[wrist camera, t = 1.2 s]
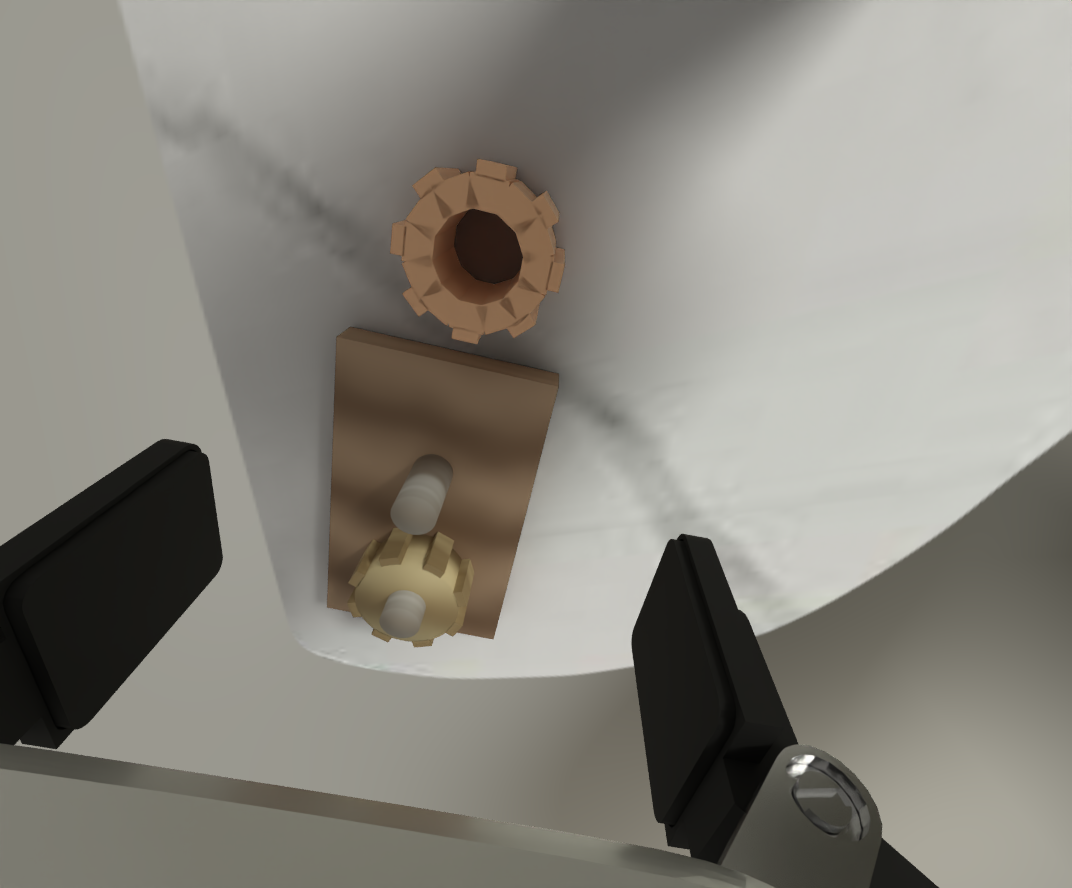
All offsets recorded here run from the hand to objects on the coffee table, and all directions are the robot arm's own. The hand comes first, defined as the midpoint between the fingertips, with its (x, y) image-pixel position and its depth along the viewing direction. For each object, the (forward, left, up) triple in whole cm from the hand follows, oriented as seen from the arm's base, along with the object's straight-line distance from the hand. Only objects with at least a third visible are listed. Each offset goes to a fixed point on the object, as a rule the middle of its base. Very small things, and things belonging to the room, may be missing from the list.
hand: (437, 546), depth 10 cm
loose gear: (-3, -2, -20) cm, 20 cm away
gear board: (+13, -3, -20) cm, 24 cm away
